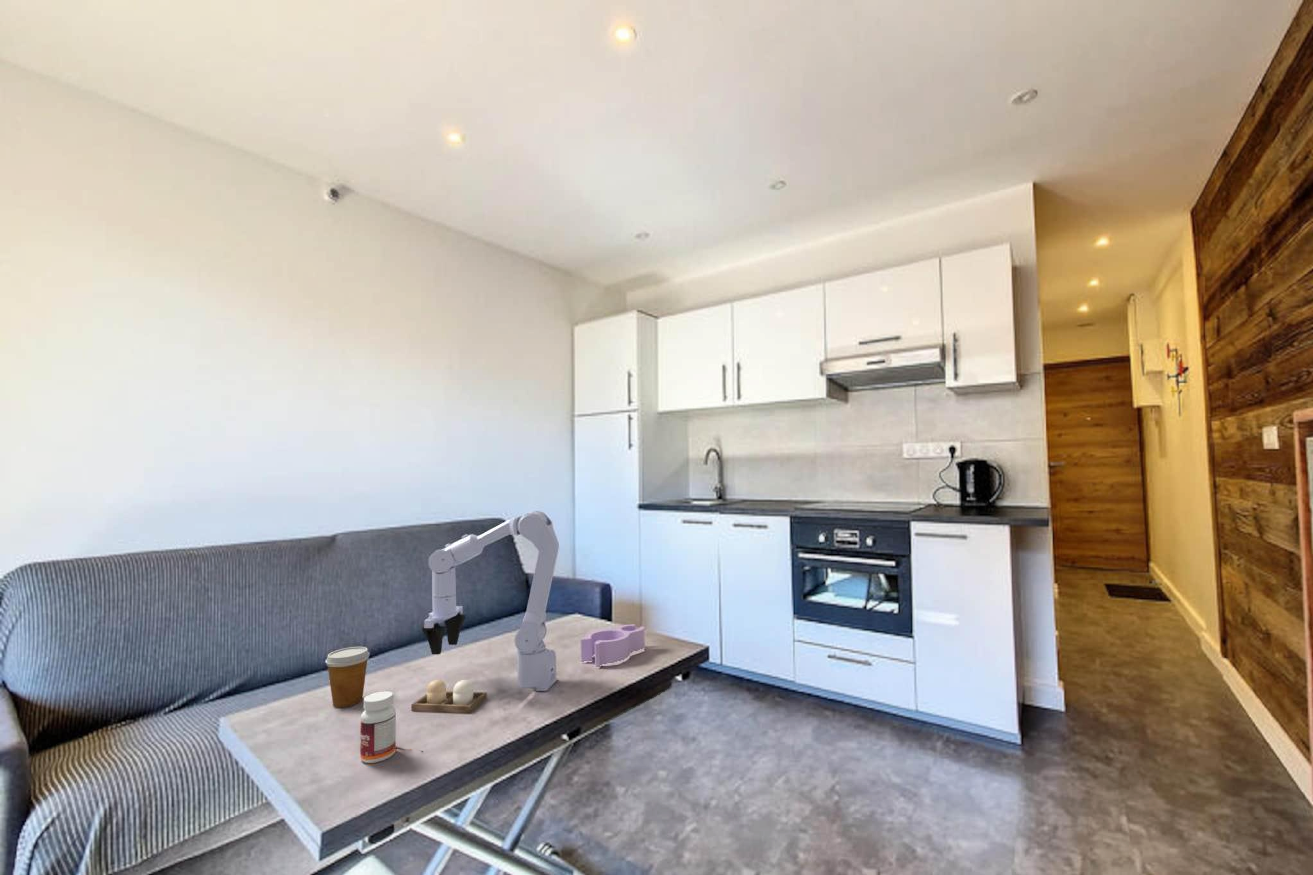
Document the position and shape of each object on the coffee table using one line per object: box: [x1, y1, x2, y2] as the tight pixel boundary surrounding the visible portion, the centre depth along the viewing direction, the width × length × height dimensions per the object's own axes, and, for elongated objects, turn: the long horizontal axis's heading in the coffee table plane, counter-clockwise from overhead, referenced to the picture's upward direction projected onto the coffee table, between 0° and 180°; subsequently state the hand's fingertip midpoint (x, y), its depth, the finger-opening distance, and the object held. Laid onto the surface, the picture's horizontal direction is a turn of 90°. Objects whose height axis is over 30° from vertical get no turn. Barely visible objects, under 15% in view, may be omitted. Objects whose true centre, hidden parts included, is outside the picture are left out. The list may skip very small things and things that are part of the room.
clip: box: [579, 624, 646, 667], centre depth 159 cm, size 20×12×7 cm, turn 136°
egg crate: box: [410, 690, 488, 715], centre depth 127 cm, size 14×8×2 cm, turn 80°
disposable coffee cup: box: [325, 646, 371, 708], centre depth 133 cm, size 10×10×12 cm
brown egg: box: [426, 679, 447, 704], centre depth 128 cm, size 4×4×6 cm
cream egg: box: [452, 679, 474, 705], centre depth 127 cm, size 4×4×6 cm
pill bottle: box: [359, 690, 397, 764], centre depth 106 cm, size 6×6×11 cm
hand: (444, 649), depth 140 cm, fingers open, 7 cm apart
